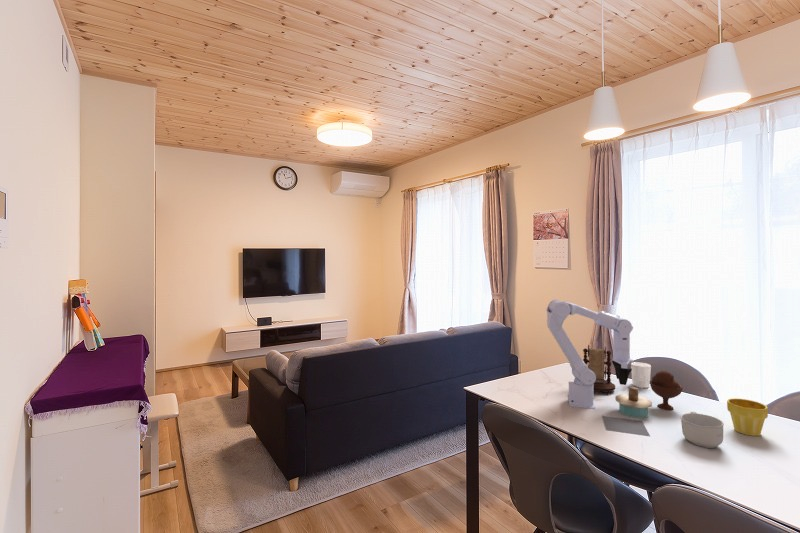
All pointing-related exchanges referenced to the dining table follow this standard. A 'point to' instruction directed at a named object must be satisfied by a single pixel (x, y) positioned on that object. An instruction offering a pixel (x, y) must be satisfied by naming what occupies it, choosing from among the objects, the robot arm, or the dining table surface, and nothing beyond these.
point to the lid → (633, 399)
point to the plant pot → (747, 415)
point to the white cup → (640, 374)
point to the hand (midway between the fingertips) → (621, 381)
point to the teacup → (702, 429)
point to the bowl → (633, 411)
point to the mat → (625, 425)
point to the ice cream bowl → (665, 388)
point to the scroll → (599, 368)
